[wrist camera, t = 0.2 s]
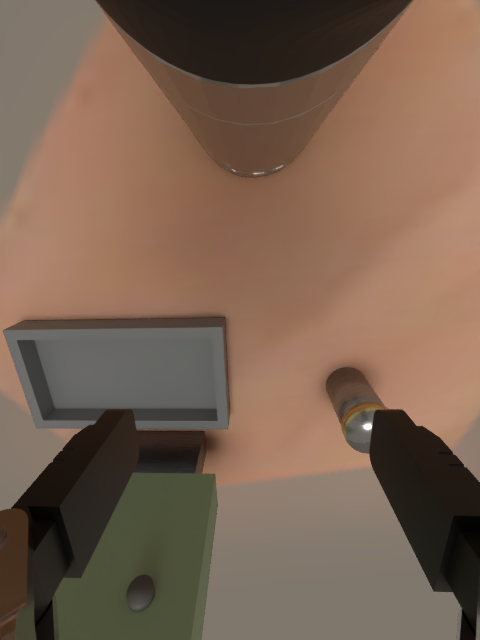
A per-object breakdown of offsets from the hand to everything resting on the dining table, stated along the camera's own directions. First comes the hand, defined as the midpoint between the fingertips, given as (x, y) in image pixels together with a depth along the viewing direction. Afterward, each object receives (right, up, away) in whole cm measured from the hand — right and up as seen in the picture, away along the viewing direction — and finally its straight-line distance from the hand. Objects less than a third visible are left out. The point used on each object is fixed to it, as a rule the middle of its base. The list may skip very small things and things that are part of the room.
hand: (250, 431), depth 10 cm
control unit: (-9, -10, +23) cm, 27 cm away
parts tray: (-12, -1, +20) cm, 23 cm away
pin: (+10, -3, +20) cm, 22 cm away
